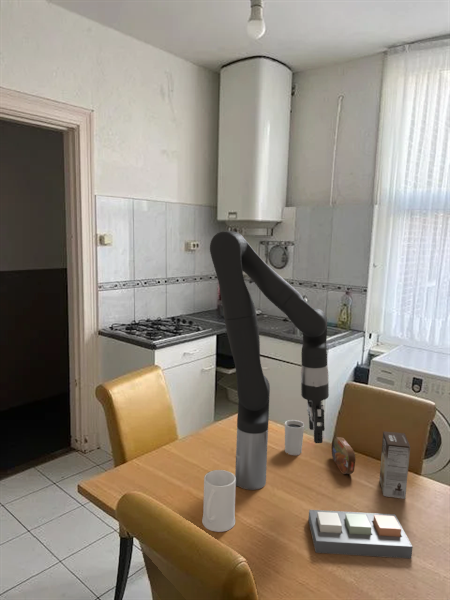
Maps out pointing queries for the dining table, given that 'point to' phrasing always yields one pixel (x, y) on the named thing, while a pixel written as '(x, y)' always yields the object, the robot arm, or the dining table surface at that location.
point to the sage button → (357, 524)
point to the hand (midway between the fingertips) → (315, 435)
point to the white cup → (293, 437)
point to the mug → (219, 500)
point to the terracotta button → (386, 526)
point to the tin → (343, 455)
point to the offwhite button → (328, 522)
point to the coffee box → (394, 464)
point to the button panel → (359, 539)
